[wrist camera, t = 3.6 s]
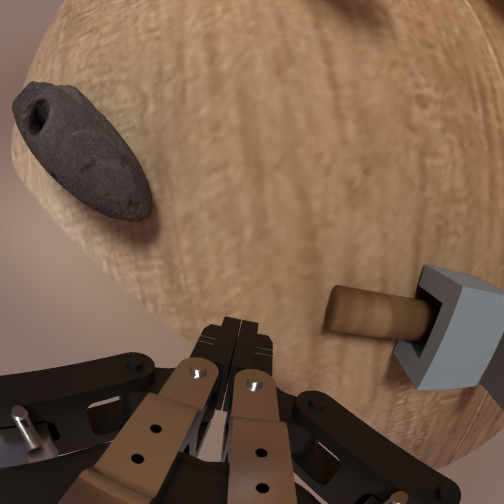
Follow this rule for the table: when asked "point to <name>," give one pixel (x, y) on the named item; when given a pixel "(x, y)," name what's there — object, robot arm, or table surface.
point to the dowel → (379, 315)
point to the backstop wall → (495, 375)
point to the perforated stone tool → (82, 150)
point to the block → (455, 332)
